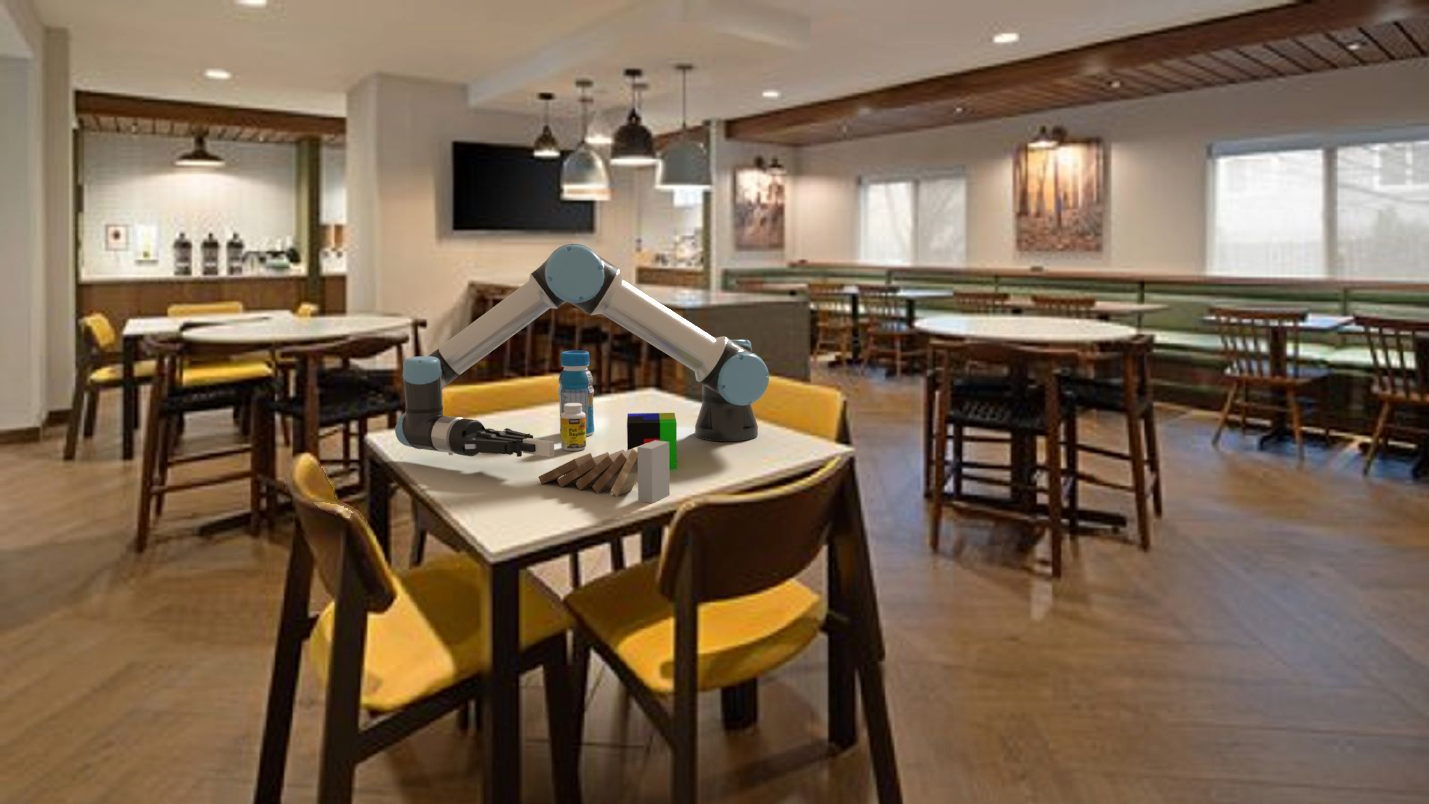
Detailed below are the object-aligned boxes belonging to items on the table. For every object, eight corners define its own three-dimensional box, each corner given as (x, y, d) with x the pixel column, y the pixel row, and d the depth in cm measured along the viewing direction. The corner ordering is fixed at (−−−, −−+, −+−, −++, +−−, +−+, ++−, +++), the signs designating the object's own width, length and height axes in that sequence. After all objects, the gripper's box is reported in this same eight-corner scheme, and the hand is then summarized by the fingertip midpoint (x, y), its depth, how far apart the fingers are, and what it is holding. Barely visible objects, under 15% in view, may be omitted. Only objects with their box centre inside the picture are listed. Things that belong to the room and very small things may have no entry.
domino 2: (556, 479, 167) (592, 457, 162) (572, 473, 171) (608, 451, 167) (560, 487, 167) (596, 465, 162) (576, 481, 171) (611, 459, 166)
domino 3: (575, 483, 165) (608, 455, 160) (591, 477, 169) (623, 449, 165) (579, 490, 165) (613, 462, 160) (595, 484, 169) (628, 456, 165)
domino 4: (591, 486, 163) (621, 452, 159) (607, 480, 168) (636, 446, 163) (597, 493, 163) (627, 459, 159) (612, 486, 167) (642, 453, 163)
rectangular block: (638, 501, 158) (637, 446, 156) (655, 492, 164) (655, 440, 162) (652, 503, 157) (651, 448, 155) (669, 494, 162) (669, 442, 160)
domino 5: (610, 491, 162) (632, 448, 158) (625, 484, 166) (647, 443, 162) (616, 496, 161) (639, 453, 157) (631, 489, 165) (653, 448, 162)
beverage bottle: (570, 439, 206) (568, 355, 203) (553, 433, 213) (550, 351, 209) (601, 434, 212) (599, 352, 208) (583, 429, 218) (581, 349, 214)
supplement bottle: (567, 453, 194) (566, 407, 192) (557, 448, 198) (556, 403, 196) (590, 449, 197) (589, 404, 195) (580, 445, 201) (578, 401, 199)
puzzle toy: (628, 459, 189) (627, 413, 187) (674, 458, 190) (674, 412, 188) (627, 471, 179) (626, 423, 177) (676, 470, 180) (676, 422, 178)
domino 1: (538, 476, 169) (574, 458, 164) (554, 470, 173) (590, 453, 168) (541, 484, 169) (578, 466, 164) (557, 478, 173) (593, 460, 168)
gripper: (483, 447, 187) (572, 460, 176) (437, 461, 176) (530, 475, 165) (481, 412, 186) (571, 423, 175) (435, 424, 174) (529, 436, 163)
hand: (551, 449), depth 170 cm, fingers closed
